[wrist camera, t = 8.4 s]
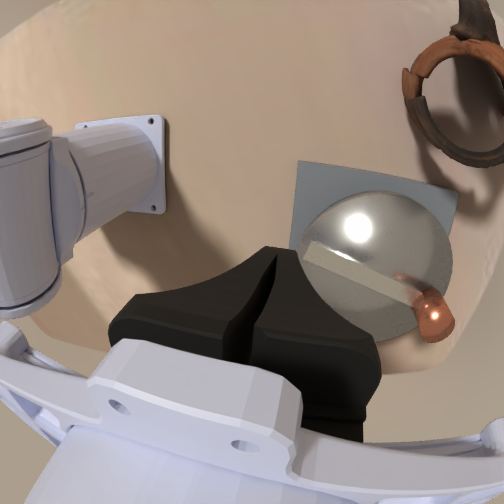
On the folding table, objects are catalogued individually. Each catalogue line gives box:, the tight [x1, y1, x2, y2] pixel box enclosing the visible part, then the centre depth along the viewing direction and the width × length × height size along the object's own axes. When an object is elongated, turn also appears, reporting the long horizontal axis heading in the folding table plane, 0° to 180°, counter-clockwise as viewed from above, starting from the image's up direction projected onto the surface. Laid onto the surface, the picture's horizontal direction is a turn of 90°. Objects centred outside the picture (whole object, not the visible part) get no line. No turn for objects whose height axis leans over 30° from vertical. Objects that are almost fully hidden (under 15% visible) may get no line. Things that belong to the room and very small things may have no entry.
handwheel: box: [296, 190, 455, 343], centre depth 17 cm, size 11×11×6 cm
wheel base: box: [289, 161, 459, 250], centre depth 20 cm, size 12×12×1 cm
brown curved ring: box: [402, 0, 504, 168], centre depth 11 cm, size 12×10×8 cm
